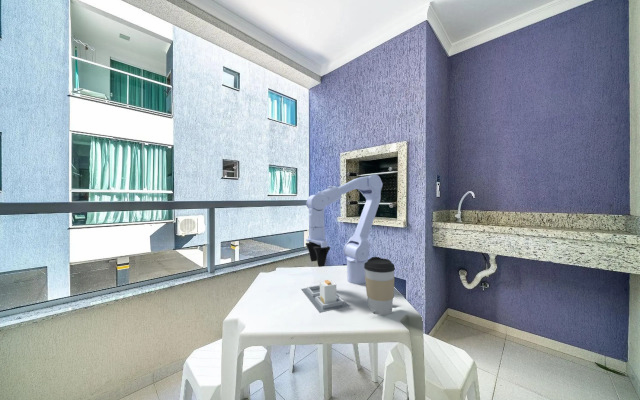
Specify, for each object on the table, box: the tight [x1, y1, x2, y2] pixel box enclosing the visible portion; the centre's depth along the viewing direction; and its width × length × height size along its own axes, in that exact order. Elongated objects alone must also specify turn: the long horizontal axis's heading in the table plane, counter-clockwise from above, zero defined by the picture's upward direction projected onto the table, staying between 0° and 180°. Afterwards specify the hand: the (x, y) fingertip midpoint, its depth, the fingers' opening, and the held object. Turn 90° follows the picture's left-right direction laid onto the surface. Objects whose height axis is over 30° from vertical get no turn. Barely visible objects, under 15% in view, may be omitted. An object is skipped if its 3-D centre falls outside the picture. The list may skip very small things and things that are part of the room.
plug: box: [319, 279, 337, 304], centre depth 70 cm, size 4×4×7 cm
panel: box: [300, 284, 351, 314], centre depth 74 cm, size 10×19×2 cm, turn 22°
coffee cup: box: [364, 256, 396, 316], centre depth 67 cm, size 9×9×15 cm
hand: (317, 263), depth 82 cm, fingers open, 7 cm apart
